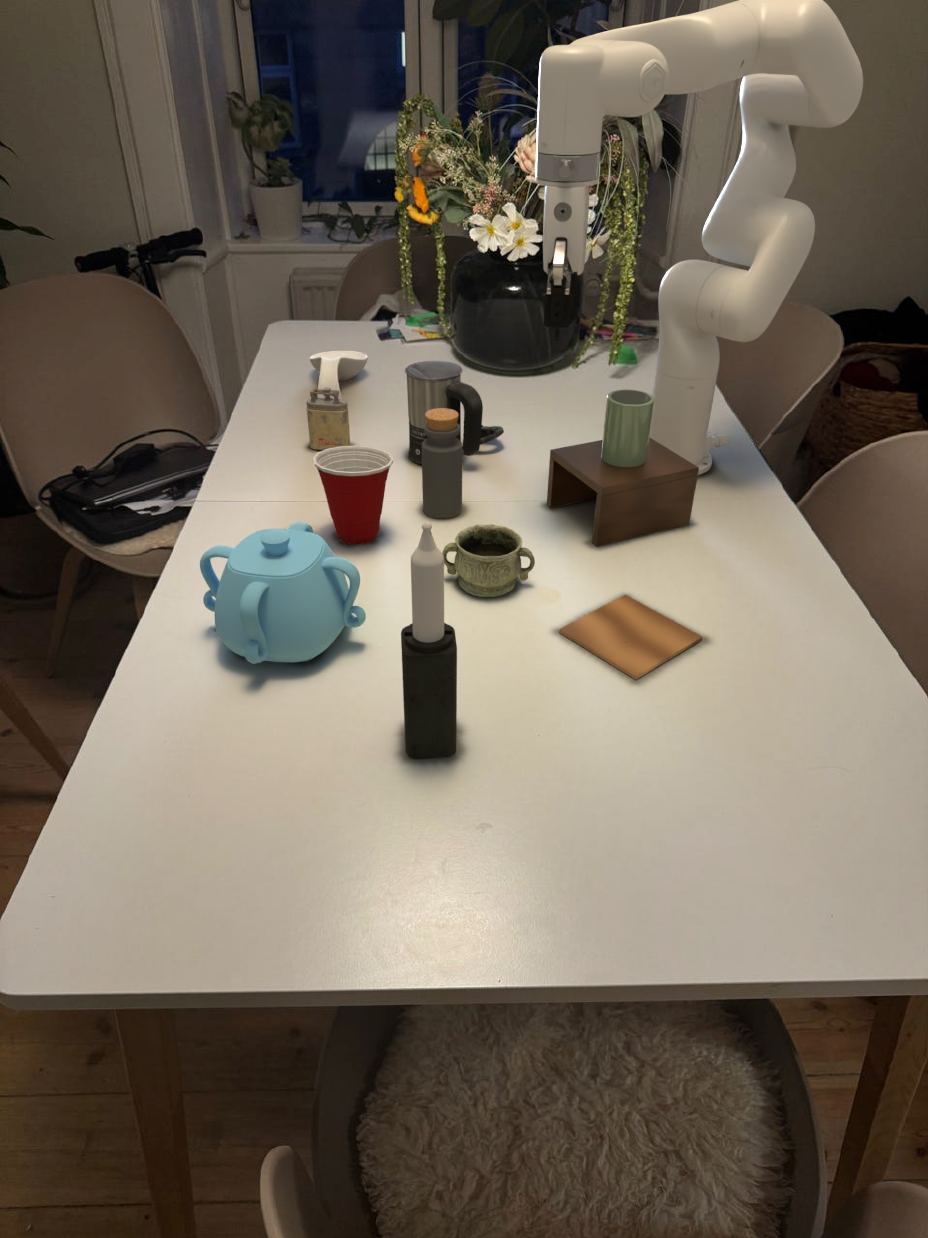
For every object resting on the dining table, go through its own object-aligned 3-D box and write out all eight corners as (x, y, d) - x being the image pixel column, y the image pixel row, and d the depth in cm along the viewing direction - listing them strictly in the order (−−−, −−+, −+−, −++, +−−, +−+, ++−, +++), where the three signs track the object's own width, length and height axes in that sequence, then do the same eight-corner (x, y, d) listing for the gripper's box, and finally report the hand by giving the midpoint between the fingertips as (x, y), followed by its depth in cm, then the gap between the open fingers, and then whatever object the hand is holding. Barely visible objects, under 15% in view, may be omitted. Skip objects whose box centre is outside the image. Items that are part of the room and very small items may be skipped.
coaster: (624, 597, 112) (625, 594, 111) (702, 640, 104) (702, 636, 104) (558, 632, 105) (558, 628, 105) (635, 680, 98) (636, 676, 97)
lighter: (353, 444, 151) (349, 387, 145) (347, 453, 148) (343, 395, 142) (313, 441, 152) (307, 385, 146) (306, 450, 149) (301, 393, 143)
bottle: (457, 520, 128) (457, 423, 120) (418, 516, 129) (416, 419, 121) (465, 503, 133) (466, 407, 125) (427, 499, 134) (426, 404, 126)
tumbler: (629, 446, 129) (636, 386, 124) (655, 462, 124) (663, 401, 119) (592, 453, 127) (598, 392, 122) (617, 470, 122) (624, 408, 117)
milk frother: (397, 461, 145) (394, 373, 137) (435, 428, 157) (435, 345, 149) (477, 476, 141) (479, 386, 133) (510, 440, 153) (514, 356, 145)
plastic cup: (408, 523, 127) (405, 446, 121) (378, 559, 119) (373, 477, 112) (340, 511, 130) (334, 435, 124) (306, 545, 122) (297, 465, 115)
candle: (404, 725, 91) (396, 509, 77) (453, 723, 91) (454, 507, 77) (405, 760, 87) (397, 538, 73) (457, 757, 87) (458, 536, 73)
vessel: (437, 596, 111) (436, 553, 108) (446, 561, 119) (446, 520, 115) (531, 603, 110) (534, 560, 107) (534, 567, 118) (537, 526, 114)
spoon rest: (314, 365, 185) (311, 331, 181) (370, 366, 185) (368, 331, 181) (299, 406, 166) (296, 369, 161) (362, 406, 166) (360, 369, 162)
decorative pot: (377, 654, 101) (372, 551, 94) (240, 694, 95) (223, 587, 87) (327, 587, 113) (319, 491, 105) (202, 618, 107) (184, 518, 99)
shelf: (634, 486, 139) (641, 432, 134) (689, 524, 128) (699, 467, 123) (546, 505, 133) (550, 449, 128) (596, 546, 122) (602, 488, 117)
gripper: (596, 181, 97) (585, 336, 107) (601, 158, 111) (590, 298, 121) (528, 180, 98) (523, 334, 108) (541, 157, 112) (536, 296, 122)
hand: (559, 315), depth 114 cm, fingers open, 9 cm apart
